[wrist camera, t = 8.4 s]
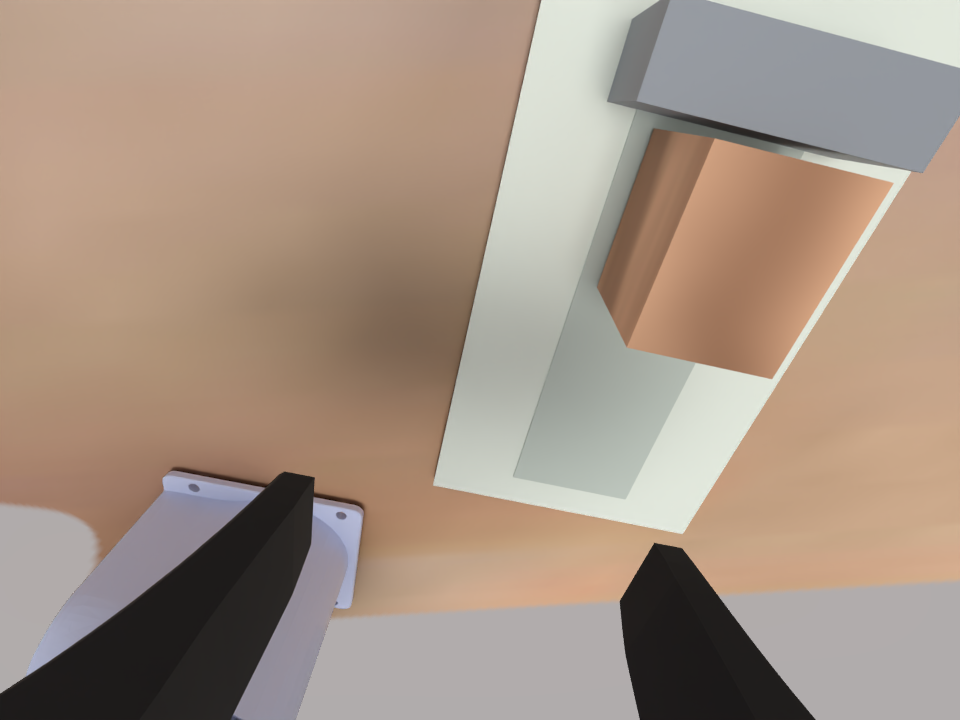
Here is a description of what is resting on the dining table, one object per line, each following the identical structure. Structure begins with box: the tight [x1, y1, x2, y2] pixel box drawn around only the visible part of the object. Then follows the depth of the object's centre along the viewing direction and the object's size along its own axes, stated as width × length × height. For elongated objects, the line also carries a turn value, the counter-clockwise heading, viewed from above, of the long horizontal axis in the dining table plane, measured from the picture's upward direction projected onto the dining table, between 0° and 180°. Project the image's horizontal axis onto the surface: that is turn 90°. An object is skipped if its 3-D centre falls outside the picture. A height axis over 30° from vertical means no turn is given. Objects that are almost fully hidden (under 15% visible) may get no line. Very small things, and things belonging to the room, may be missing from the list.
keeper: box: [597, 128, 894, 379], centre depth 13 cm, size 4×5×4 cm
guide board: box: [433, 0, 960, 534], centre depth 15 cm, size 12×21×4 cm, turn 168°
